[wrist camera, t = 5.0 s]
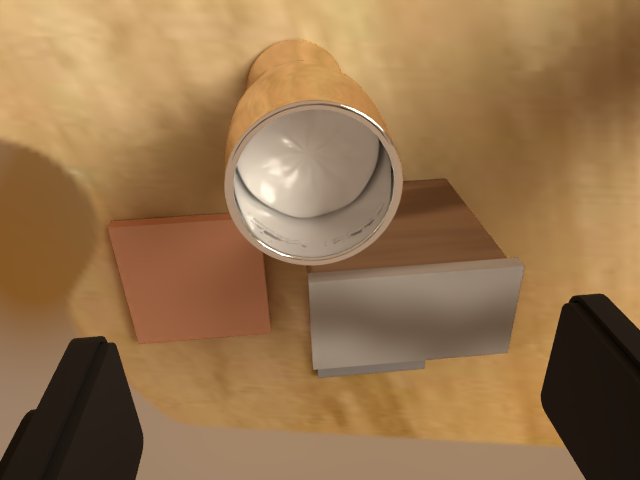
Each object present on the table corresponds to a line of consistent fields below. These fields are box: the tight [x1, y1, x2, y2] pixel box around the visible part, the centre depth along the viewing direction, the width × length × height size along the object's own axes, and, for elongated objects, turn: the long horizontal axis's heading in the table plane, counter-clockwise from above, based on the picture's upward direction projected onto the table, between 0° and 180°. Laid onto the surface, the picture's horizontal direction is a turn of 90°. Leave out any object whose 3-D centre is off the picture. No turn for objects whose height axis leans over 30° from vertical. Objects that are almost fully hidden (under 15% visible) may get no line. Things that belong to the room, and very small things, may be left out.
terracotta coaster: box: [108, 213, 271, 344], centre depth 37 cm, size 10×10×1 cm
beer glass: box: [224, 40, 403, 265], centre depth 25 cm, size 7×7×15 cm
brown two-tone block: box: [307, 179, 524, 370], centre depth 31 cm, size 6×11×12 cm, turn 92°
